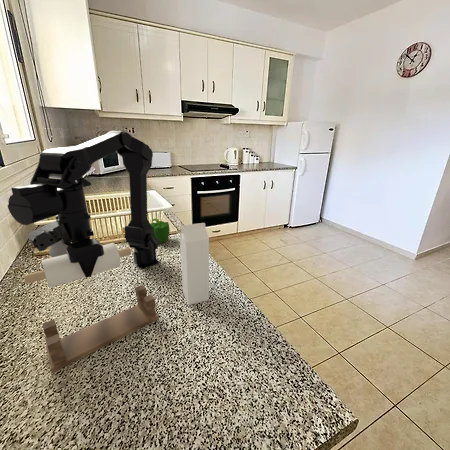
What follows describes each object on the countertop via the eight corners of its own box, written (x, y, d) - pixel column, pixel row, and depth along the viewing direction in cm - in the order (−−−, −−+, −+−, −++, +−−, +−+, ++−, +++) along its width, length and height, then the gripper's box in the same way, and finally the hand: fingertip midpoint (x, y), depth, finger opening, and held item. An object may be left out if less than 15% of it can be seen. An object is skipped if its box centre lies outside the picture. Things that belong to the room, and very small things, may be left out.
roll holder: (146, 304, 64) (144, 283, 61) (158, 318, 59) (156, 297, 56) (47, 348, 50) (39, 324, 48) (52, 372, 45) (43, 347, 43)
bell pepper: (174, 239, 102) (173, 217, 98) (162, 247, 95) (160, 223, 91) (158, 235, 105) (157, 214, 101) (146, 242, 98) (143, 220, 94)
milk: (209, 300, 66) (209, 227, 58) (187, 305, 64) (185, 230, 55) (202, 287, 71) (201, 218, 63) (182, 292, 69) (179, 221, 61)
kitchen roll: (127, 256, 67) (124, 236, 65) (135, 266, 63) (132, 244, 60) (28, 285, 54) (20, 260, 52) (30, 299, 49) (21, 273, 47)
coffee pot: (44, 257, 85) (32, 218, 79) (77, 245, 94) (68, 209, 88) (78, 276, 75) (67, 232, 69) (111, 261, 84) (104, 221, 78)
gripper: (23, 205, 54) (40, 265, 60) (27, 231, 41) (49, 304, 46) (79, 198, 61) (90, 252, 66) (98, 218, 47) (110, 284, 53)
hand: (85, 270), depth 58 cm, fingers closed on kitchen roll, 6 cm apart
